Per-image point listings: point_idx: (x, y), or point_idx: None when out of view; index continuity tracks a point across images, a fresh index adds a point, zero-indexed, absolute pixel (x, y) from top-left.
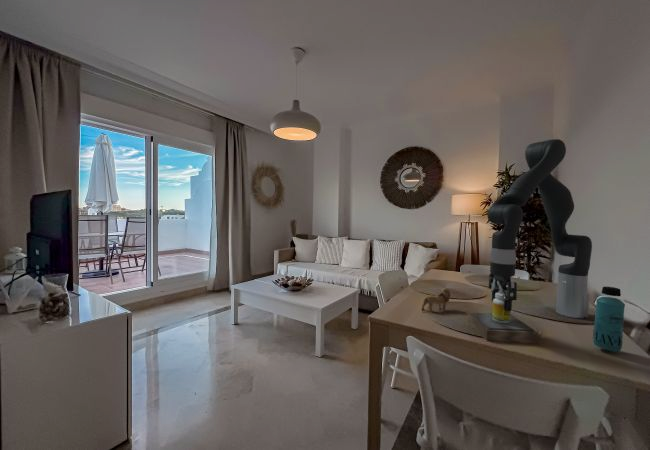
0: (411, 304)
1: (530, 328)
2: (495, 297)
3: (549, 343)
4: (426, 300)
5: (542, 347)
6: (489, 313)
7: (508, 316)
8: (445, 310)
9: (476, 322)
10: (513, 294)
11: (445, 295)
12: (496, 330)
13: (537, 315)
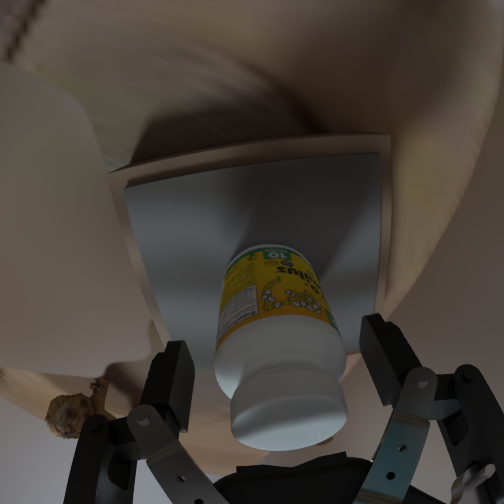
0: None
1: (363, 160)
2: (183, 387)
3: (354, 79)
4: None
5: (400, 136)
6: (160, 305)
7: (316, 279)
8: (107, 382)
9: None
10: (468, 411)
11: None
12: None
13: (10, 34)
